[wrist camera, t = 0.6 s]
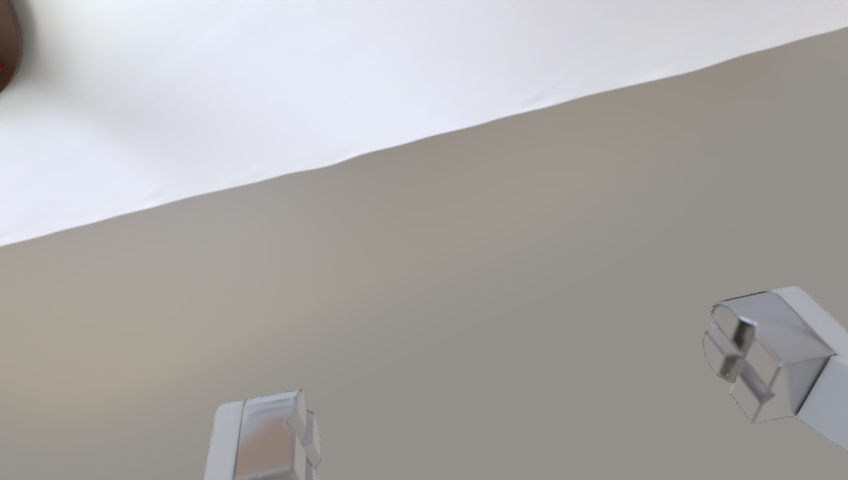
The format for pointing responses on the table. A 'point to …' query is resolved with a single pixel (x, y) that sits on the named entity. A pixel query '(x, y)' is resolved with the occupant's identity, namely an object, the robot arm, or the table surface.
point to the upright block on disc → (9, 43)
